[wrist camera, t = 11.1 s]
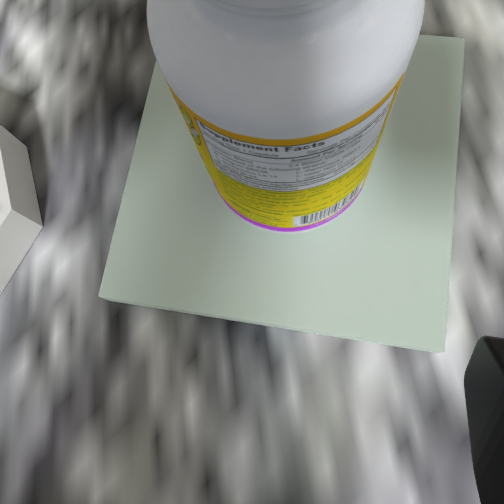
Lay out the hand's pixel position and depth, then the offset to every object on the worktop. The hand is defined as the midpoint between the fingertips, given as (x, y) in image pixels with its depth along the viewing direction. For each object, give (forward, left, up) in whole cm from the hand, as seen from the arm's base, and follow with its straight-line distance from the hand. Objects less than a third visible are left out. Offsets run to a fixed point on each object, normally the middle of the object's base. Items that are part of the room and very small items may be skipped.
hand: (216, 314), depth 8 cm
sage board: (+7, +2, -11) cm, 14 cm away
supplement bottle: (+7, +2, -10) cm, 13 cm away
